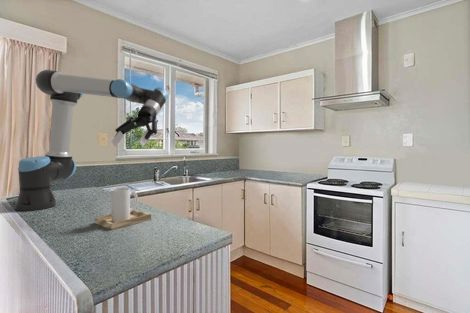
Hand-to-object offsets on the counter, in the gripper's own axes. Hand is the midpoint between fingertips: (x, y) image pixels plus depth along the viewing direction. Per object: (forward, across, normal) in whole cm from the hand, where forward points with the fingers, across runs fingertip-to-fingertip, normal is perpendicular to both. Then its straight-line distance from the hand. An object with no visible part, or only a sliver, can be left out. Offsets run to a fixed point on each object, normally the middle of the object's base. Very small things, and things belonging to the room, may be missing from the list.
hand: (127, 144), depth 107 cm
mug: (+26, -6, -15) cm, 31 cm away
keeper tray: (+27, -5, -15) cm, 31 cm away
